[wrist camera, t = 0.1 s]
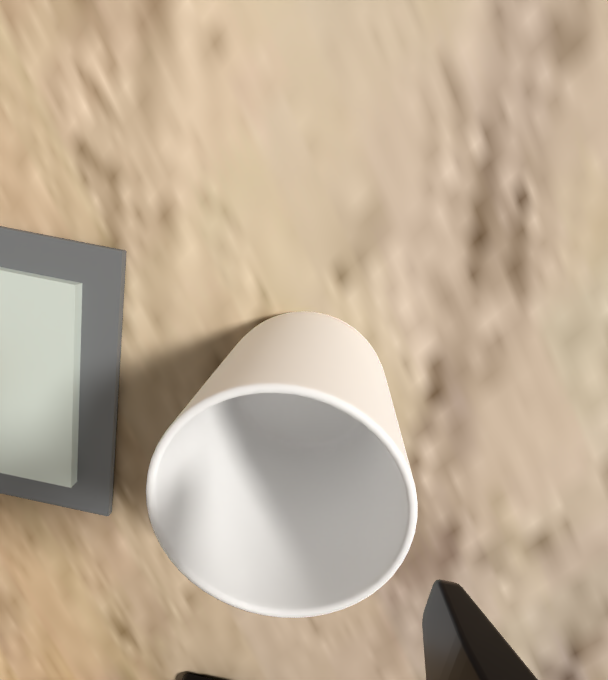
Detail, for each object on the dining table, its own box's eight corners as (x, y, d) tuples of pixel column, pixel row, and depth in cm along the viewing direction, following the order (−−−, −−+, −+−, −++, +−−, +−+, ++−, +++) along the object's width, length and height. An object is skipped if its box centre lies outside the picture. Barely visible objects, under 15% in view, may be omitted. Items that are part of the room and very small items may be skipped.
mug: (338, 522, 25) (336, 722, 15) (203, 483, 25) (112, 658, 15) (406, 332, 21) (461, 432, 12) (248, 287, 21) (168, 348, 12)
